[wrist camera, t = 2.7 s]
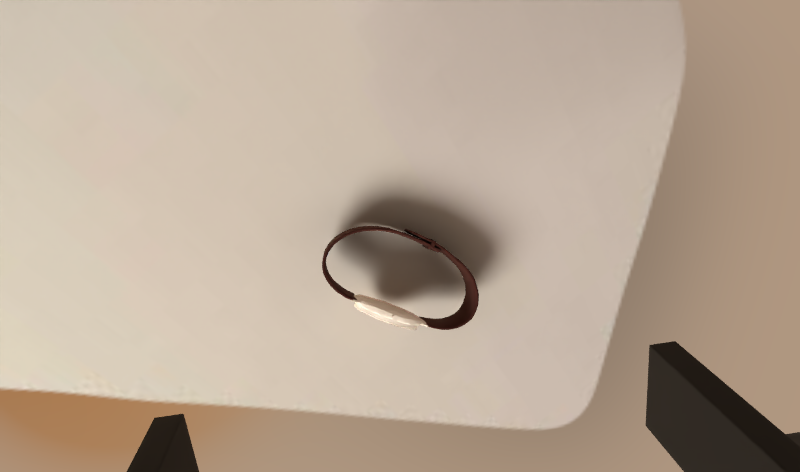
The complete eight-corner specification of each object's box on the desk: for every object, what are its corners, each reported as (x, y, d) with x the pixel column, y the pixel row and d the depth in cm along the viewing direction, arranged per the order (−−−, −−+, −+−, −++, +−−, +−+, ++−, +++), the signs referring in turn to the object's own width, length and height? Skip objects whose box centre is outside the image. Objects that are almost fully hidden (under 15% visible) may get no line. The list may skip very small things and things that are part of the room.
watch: (308, 282, 27) (302, 315, 24) (343, 196, 26) (342, 217, 23) (448, 331, 29) (462, 368, 25) (486, 251, 28) (506, 279, 24)
